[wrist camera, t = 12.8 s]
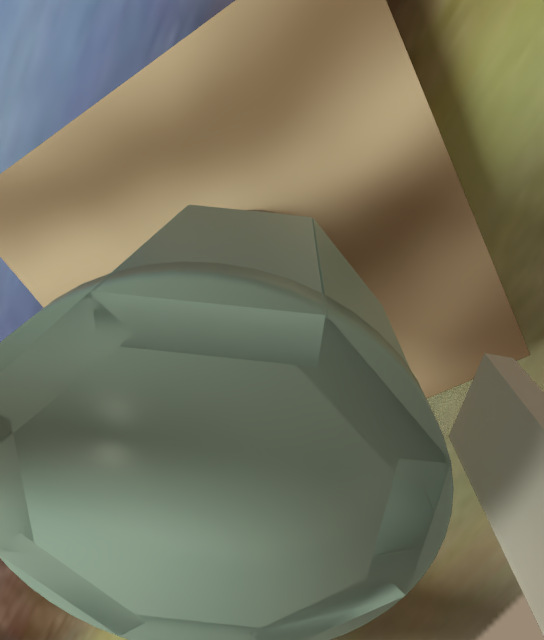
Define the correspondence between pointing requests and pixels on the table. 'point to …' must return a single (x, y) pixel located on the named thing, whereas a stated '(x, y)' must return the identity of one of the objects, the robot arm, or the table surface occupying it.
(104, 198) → the stud board
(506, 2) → the table surface
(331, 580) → the cap
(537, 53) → the table surface
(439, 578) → the table surface
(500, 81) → the table surface
